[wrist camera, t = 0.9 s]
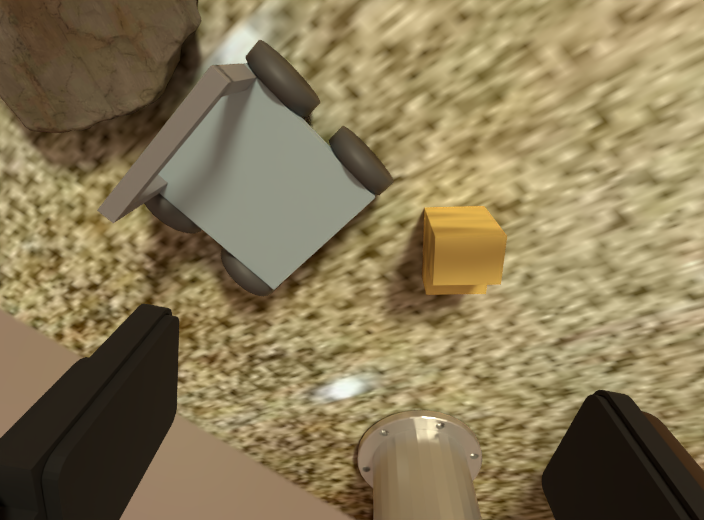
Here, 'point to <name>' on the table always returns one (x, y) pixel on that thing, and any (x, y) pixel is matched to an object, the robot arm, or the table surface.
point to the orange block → (461, 250)
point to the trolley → (252, 171)
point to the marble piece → (88, 57)
